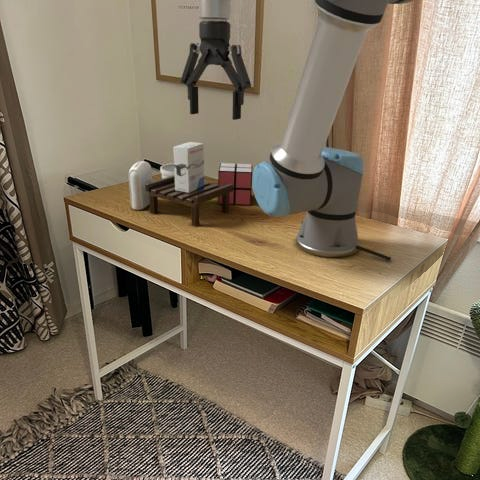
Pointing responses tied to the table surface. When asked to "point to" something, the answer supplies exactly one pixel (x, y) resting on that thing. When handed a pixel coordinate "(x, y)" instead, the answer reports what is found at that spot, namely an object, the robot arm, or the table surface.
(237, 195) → the puzzle cube
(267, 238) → the table surface
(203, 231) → the table surface
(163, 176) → the ramekin
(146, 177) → the photo printer
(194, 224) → the rack
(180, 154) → the ink box
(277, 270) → the table surface
